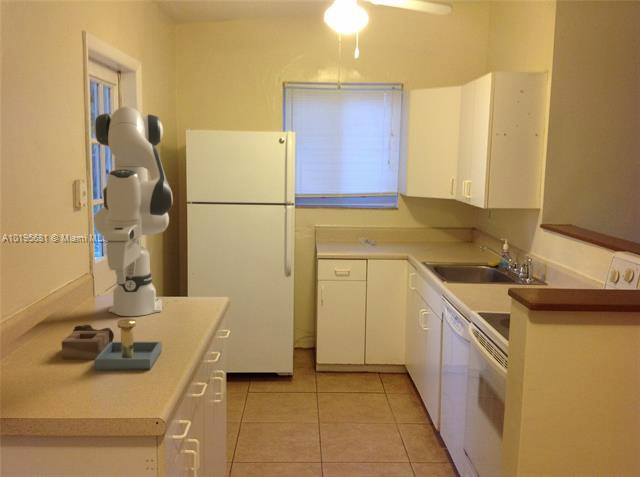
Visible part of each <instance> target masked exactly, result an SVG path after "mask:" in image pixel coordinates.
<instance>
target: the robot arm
mask: <svg viewBox="0 0 640 477" xmlns="http://www.w3.org/2000/svg"><path fill="white" fill-rule="evenodd" d="M93 134H94V137H95V139H96V141H97V142H98V143H99V144H100V145H103V146H107V147H108V148H109V151H110V153H111V154H112V155H113V156H114V164H113V165H114V170H111V171H110V172H108V175H107V183H106V186H105V187H104V188H103V190H102V194H103V208H99V209H97V212H96V213H95V215H94V220H93V224H94V228H95V230H96V231H97V233H98V234H99V235H101V236H102V237H103V238H104V239H103V240H104V241H105V242H106V258H107V264H108V267H109V270H110V271H115V274H116V283H117V286H116V287H115V288H114V289H113V290H112V291H113V292H112V294H113V296H112V298H113V299H112V307H110V308H109V309H108V312H109V313H113V314H115V315H117V316H123V317H141V316H146V315H150V314H154V313H160V312H162V311H163V300H162V299H161V298H158V297H157V291H156V290H157V289H156V287H155V285H154V284H153V283H152V282H153V275H152V274H153V273H152V270H151V260H150V258H151V257H150V252H149V251H148V249H146V248H145V247H144V246H142V245H141V237H142V236H149V235H152V236H153V235H155V234H160V233H163V232H165V231H166V229H167V228H168V226H169V223H170V216H169V213H168V212H169V211H171V209H172V206H173V204H174V203H173V202H174V196H173V191H172V190H171V187H170V184H169V182H168V178H167V176H166V172H165V170H164V167H163V166H164V165H163V163H162V159H161V156H160V153H159V150H158V149H157V147H156V146H157V145H159V144H160V142H161V140H162V139H163V135H164V126H163V124H162V122H161V119H160V118H159V116H157V115H152V114H150V113H149V114H143V113H140V112H139V110H137V109H135V108H134V107H131V106H121V107H119V108H117V109H116V110H115V111H114V112H113V113H110V114H109V113H102V114H99V115H98V116H97V117H95V121H94V124H93ZM148 173H149V175H150V179H151V180H149V176H148Z"/></svg>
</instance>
